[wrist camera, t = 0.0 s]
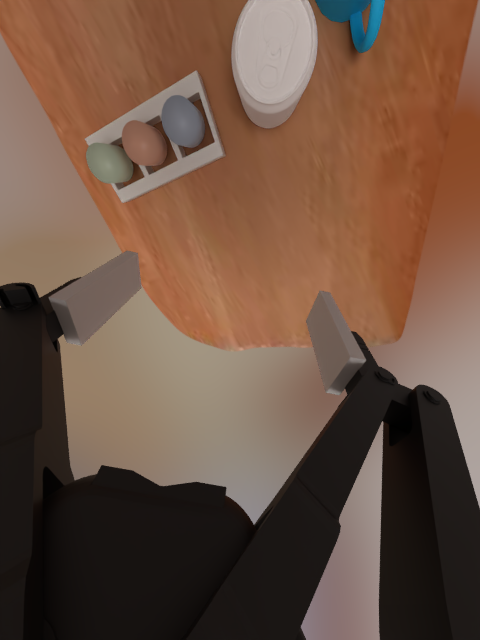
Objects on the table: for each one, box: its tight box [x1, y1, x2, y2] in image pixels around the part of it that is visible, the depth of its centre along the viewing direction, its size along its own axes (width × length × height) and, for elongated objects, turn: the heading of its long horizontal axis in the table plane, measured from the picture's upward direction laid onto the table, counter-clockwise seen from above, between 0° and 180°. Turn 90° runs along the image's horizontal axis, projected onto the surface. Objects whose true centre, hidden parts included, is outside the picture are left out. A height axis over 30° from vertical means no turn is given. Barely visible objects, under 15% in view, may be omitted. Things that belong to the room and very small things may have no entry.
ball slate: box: [161, 95, 205, 148], centre depth 28 cm, size 5×5×4 cm
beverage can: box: [231, 0, 318, 128], centre depth 24 cm, size 8×8×12 cm
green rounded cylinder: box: [86, 142, 133, 183], centre depth 31 cm, size 5×5×4 cm
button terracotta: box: [122, 120, 167, 166], centre depth 29 cm, size 5×5×4 cm
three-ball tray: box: [85, 70, 226, 203], centre depth 33 cm, size 9×19×2 cm, turn 110°
